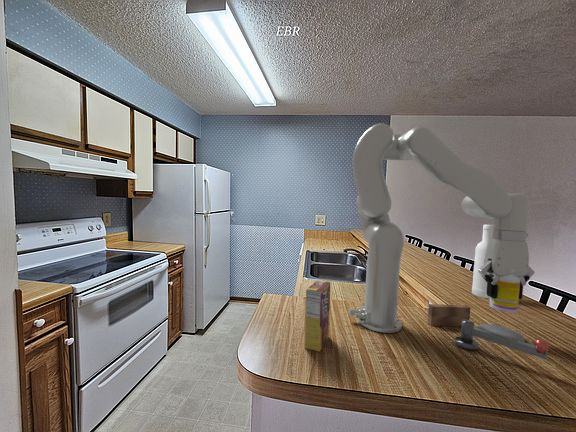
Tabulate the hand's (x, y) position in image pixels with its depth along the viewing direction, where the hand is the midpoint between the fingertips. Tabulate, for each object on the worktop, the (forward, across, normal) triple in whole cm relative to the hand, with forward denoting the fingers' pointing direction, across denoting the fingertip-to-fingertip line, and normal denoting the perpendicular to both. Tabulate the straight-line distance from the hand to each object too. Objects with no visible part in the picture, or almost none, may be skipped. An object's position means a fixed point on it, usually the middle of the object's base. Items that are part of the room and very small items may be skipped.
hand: (504, 296), depth 80 cm
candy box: (+11, +55, +7) cm, 57 cm away
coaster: (+11, 0, 0) cm, 11 cm away
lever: (+11, +11, +12) cm, 20 cm away
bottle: (+12, -21, -35) cm, 42 cm away
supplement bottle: (+4, 0, 0) cm, 4 cm away
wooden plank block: (+11, +12, -6) cm, 18 cm away
